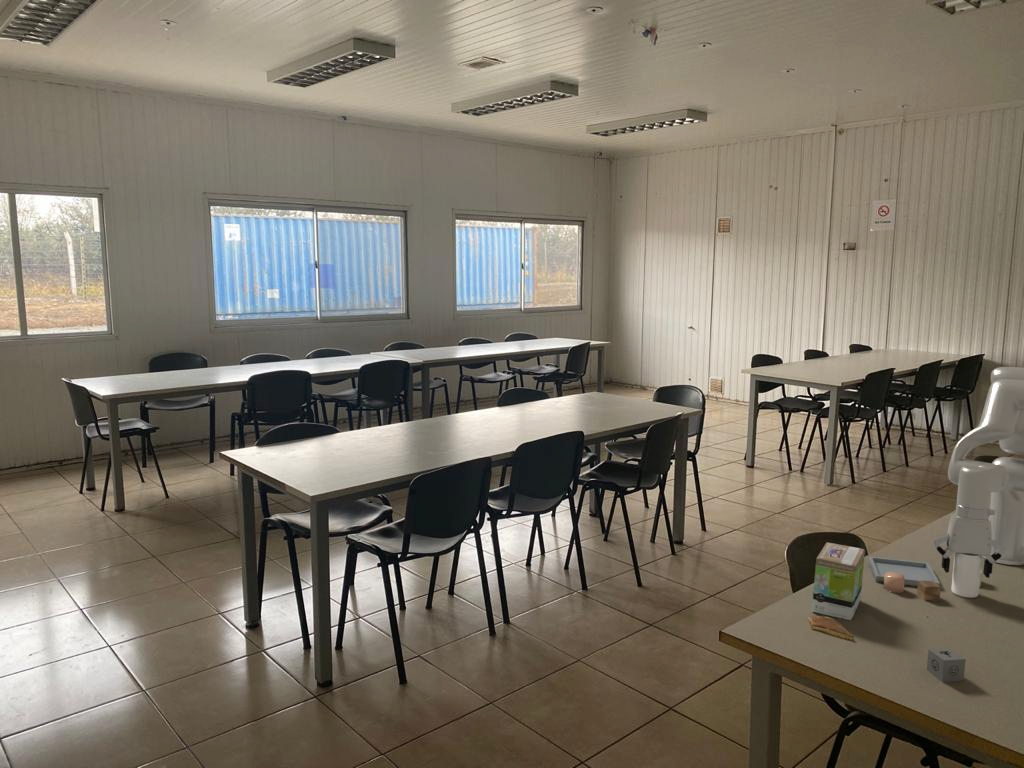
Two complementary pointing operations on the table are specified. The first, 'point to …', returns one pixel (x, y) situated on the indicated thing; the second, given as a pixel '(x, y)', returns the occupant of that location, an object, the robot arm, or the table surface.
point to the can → (966, 575)
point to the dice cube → (946, 664)
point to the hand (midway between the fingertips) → (965, 573)
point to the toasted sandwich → (829, 626)
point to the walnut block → (928, 590)
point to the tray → (902, 570)
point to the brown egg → (894, 582)
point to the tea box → (838, 580)
